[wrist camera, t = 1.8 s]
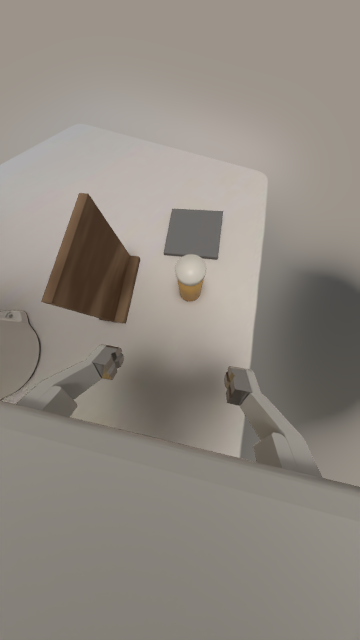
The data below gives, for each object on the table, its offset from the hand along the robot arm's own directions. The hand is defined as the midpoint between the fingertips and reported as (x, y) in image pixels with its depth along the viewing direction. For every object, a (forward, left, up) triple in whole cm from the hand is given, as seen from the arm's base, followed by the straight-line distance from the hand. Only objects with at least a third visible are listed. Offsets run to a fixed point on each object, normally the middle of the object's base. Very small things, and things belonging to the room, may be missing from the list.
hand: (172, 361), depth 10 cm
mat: (-1, +24, -14) cm, 28 cm away
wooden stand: (-14, +10, -14) cm, 22 cm away
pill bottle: (0, +11, -14) cm, 18 cm away
